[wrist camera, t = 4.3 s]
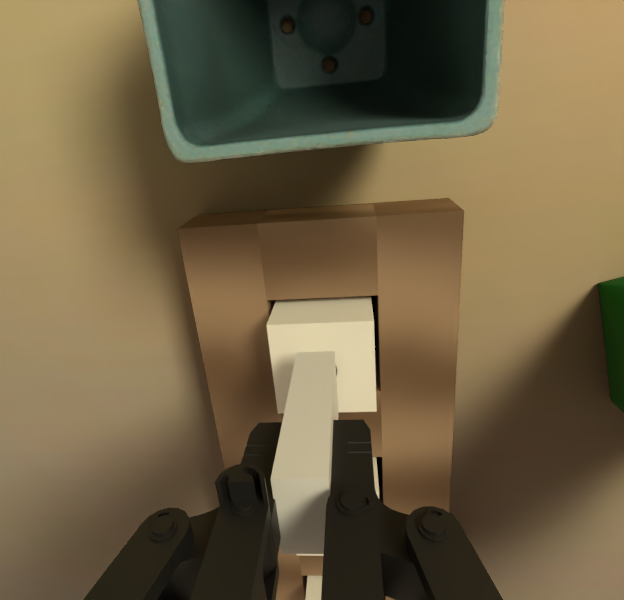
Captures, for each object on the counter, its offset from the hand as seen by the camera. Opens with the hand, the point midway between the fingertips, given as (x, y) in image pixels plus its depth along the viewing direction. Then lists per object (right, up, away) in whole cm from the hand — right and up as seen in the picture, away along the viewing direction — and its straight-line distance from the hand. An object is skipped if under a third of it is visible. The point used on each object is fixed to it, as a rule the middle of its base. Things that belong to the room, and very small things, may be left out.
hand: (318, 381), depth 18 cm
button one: (0, +2, +4) cm, 5 cm away
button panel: (+1, -6, +9) cm, 11 cm away
